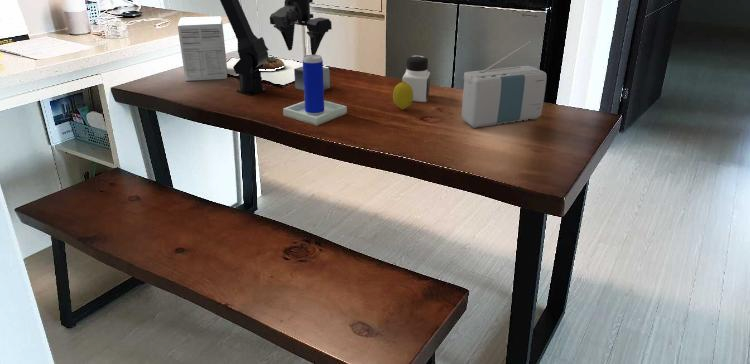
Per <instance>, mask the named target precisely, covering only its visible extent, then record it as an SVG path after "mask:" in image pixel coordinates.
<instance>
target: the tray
mask: <svg viewBox="0 0 750 364" xmlns="http://www.w3.org/2000/svg"><path fill="white" fill-rule="evenodd" d="M282 113H283V117H287V118H290V119H294V120H297V121H300V122H303V123H306V124H309V125H313V126H316V127H317V126H319V125H322V124H324V123H327V122H329V121H332V120H334V119H336V118H339V117H341V116H344V115H346V114H348V106H346V105H343V104H339V103H336V102H333V101H329V100H325V99H324V111H323V113H322V114H319V115H310V114H307V113H306V111H305V100H303V101H301V102H298V103H295V104H291V105H289V106H287V107H284V108H282Z"/></svg>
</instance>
